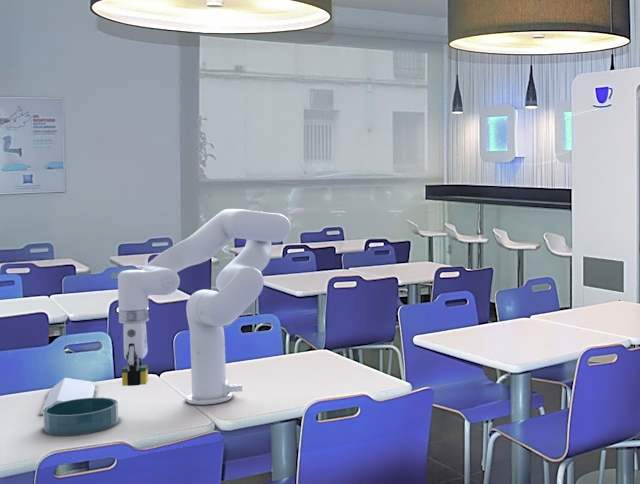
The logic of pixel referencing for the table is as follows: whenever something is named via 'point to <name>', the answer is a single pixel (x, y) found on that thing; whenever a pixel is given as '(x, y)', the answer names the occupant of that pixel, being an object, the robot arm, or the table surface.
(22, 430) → the table surface
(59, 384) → the crown molding
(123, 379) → the sponge
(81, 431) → the bowl
